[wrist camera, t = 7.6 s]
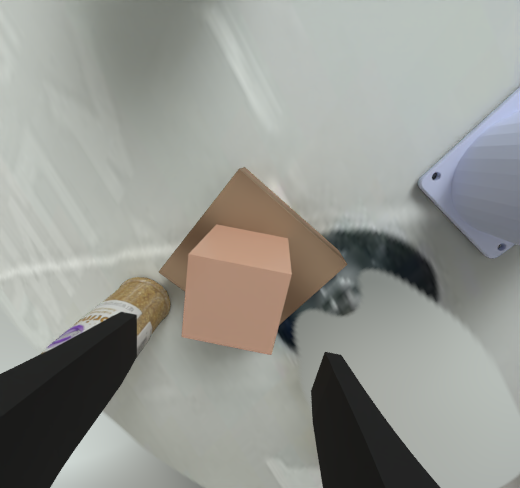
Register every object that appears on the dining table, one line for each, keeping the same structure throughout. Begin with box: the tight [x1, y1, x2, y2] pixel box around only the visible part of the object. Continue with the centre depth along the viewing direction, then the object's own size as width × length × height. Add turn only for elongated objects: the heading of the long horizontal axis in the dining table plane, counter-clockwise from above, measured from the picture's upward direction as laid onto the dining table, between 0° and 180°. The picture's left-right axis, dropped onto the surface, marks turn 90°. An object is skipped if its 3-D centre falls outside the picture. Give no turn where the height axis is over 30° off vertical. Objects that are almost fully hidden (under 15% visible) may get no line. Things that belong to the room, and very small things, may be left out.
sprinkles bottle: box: [41, 277, 170, 358], centre depth 14 cm, size 5×5×14 cm
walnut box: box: [159, 167, 347, 325], centre depth 18 cm, size 9×9×3 cm
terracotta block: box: [182, 224, 292, 355], centre depth 14 cm, size 5×5×5 cm
